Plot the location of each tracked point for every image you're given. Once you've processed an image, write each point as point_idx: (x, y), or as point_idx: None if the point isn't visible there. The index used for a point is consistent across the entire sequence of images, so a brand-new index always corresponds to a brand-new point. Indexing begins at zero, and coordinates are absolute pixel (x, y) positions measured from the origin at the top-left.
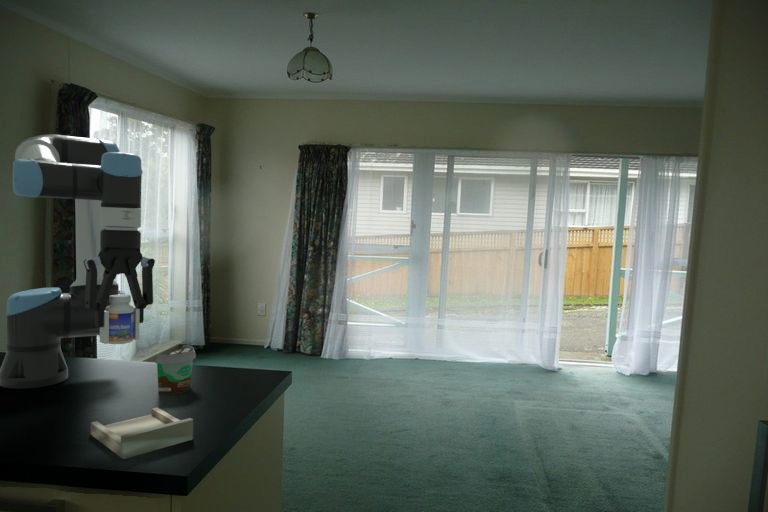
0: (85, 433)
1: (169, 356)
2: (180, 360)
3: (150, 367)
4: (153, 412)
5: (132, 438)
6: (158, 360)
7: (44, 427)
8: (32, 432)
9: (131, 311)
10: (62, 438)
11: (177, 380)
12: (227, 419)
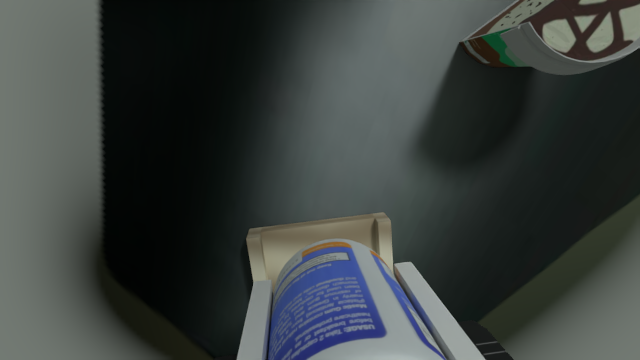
0: (242, 216)
1: (554, 56)
2: (572, 72)
3: None
4: (377, 228)
5: None
6: (514, 39)
7: (174, 135)
8: (150, 152)
9: None
10: (199, 219)
11: (518, 66)
12: (485, 287)
